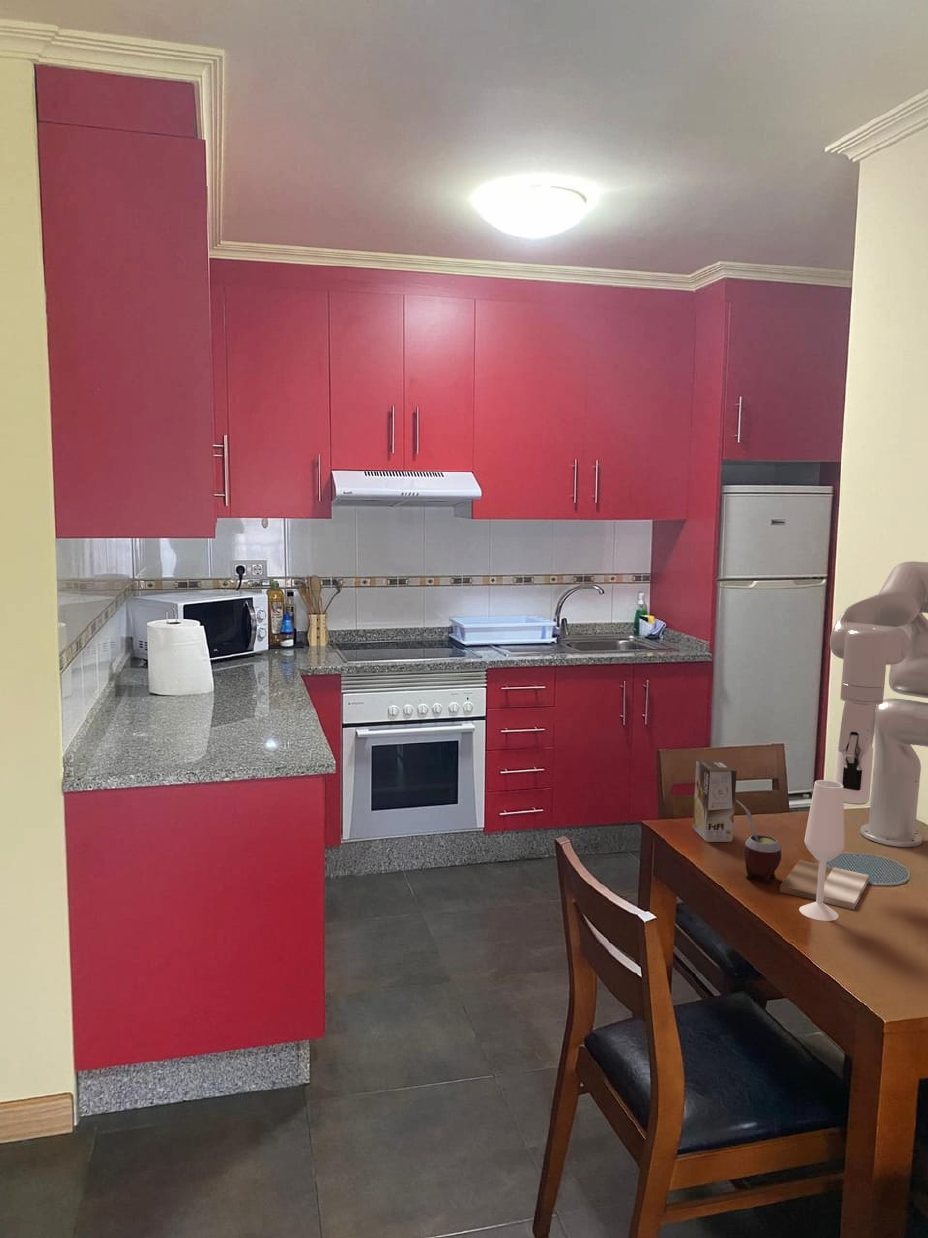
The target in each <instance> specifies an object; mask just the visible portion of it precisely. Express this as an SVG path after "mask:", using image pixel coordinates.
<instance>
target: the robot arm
mask: <svg viewBox="0 0 928 1238" xmlns="http://www.w3.org/2000/svg"><path fill="white" fill-rule="evenodd" d="M924 613H925V614H928V561H916V560H915V561H913V560H911V561H904V562H901V563H898V564H897V565H895V566H894V567H893V568H892V570H891V571H890V573H889V575H888V576H887V578H886V580H885V582H884V583H883V585H882V587H881V589H880V590H879V593H878V594H875V595H871V596H869V597H867V598H864V599H862V600H859V601H857V602H855V603H853V604H850V605H849V606H847V607H846V608H845V609H844V610H843V611H842V612H841V614H840V615H839V617H838V619H837V621H836V622H835V624H834V626H833V627H832V631H831V633H830V636H829V637H830V638H829V648H830V652H831V653H832V654H833V655H834V656H835V658H836V657H837V658H839V659H842V660H843V661H842V662H843V663H842V672H841V686H840V696H839V697H840V700H841V701H843V702H844V705H843V709H842V716H841V722H840V731H839V738H838V739H839V740H838V743H839V746H838V750H839V751H840V752H843V751H844V750H845V749H846V747H847V751H846V758H845V764H844V770H843V782H842V785H843V788H845V789H851V790H857V791H859V790H860V789H861V778H862V770H860V769H861V762H862V756H863V755H865V754H866V753H867V750H868V748H869V746H870V742H871V745H872V746H873V743H874V753H873V755H874V756H873V767H872V778H871V790H870V804H869V805H870V806H869V815H868V823H865V824H862V825H861V827H860V834H861V835H862V836H863V837H864V838H866V839H868V840H870V841H873V842H875V843H878V844H881V845H887V846H892V847H899V848H900V847H901V848H903V847H904V848H908V847H909V848H910V847H911V848H912V847H917V846H919V845H921V844H922V843H923V836H922V835H921V834H920V833H919V832H917V830H916V825H917V812H918V803H919V802H918V801H919V792H920V791H919V790H920V780H921V773H922V772H921V770H922V766H921V760H920V758H919V755H918V754H917V752H916V751H915V750H914V747H913V746H920V747H927V748H928V702H923V701H920V700H918V701H917V700H912V699H904V698H886V699H884V695H885V686H886V685H885V683H886V673H887V672H886V671H887V665H888V666H890V667H889V673H888V685H889V687H890V689H891V690H892V691H893V692H894V693H897V694H899V695H903V696H908V697H909V696H910V697H916V698H923V699H928V618H927V617H925V615H924ZM856 749H858V750H860V753H855V752H856ZM855 756H857V757H858V760H857V758H855ZM857 761H858V762H857Z"/></svg>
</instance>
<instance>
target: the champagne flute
mask: <svg viewBox="0 0 928 1238" xmlns="http://www.w3.org/2000/svg"><path fill="white" fill-rule="evenodd" d="M844 806H845V803H844V800H843V785H842V784H840V783H838V782H834V780H829V779H828V780H827V779H819V780H815V781H814V785H813V790H812V796H811V801H810V807H809V811H808V812H809V813H808V817H807V824H806V829H805V834H804V845H805V847H806V849H807V850H808V852H809V853H810V854H811V855H812V856H813V857H814V858H815V859H816V860H818V862H819V863H818V864H819V872H818V885H817V897H816V900H815V901H814V902H811V903H810V902H809V903H807V904H804V905H802V906H800V907H799V909H798V911H799V912H800V913H801V914H802V915H803V916H805V917H807V918H808V919H813V920H816V921H817V920H818V921H822V922H831V921H836V920H837V919H838V918H839V917H840V916H839V914H838V913H837V912H836V911H835V910H834V909H832V907H830V906H828V905H827V904H826V903H824V902H823V897H824V885H825V872H826V866H827V862H831V861H832V860H834V859H835V858H836V857H838V856H840V854H841V853H842V852H843V851H844V849H845V812H844V811H845V808H844Z"/></svg>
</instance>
